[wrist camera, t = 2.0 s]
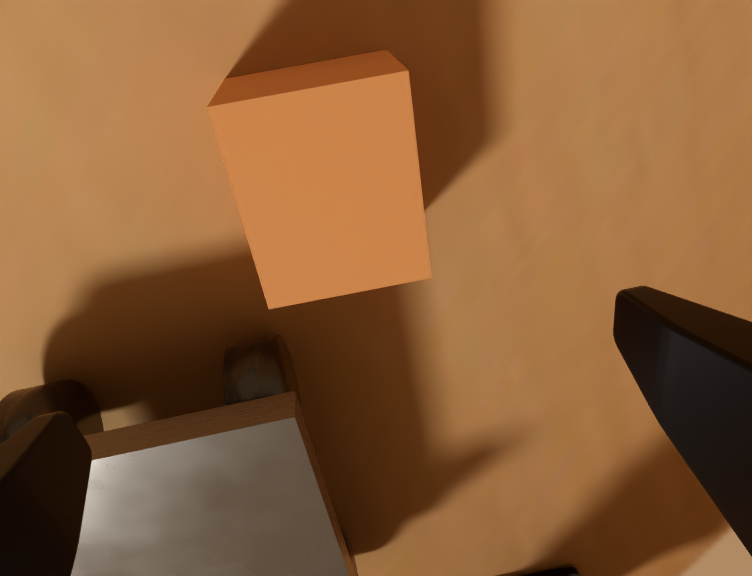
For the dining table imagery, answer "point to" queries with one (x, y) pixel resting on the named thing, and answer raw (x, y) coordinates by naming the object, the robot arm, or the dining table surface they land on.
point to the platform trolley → (202, 480)
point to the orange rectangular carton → (325, 176)
